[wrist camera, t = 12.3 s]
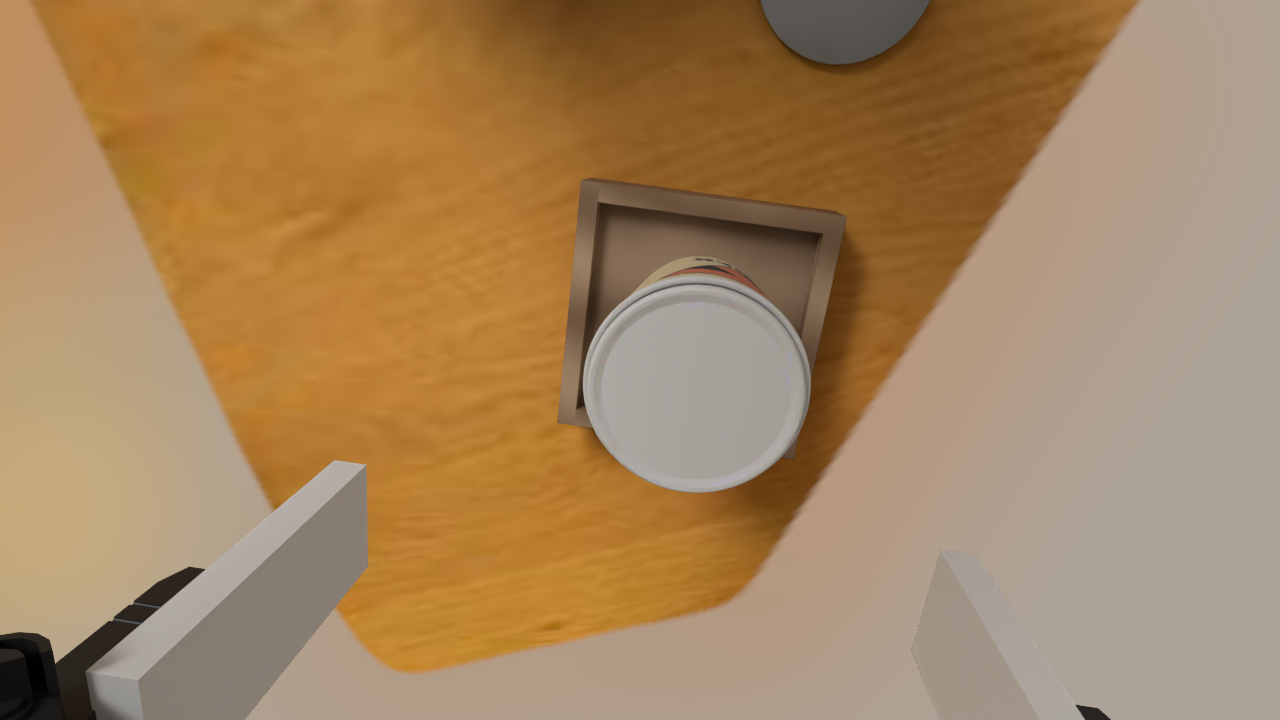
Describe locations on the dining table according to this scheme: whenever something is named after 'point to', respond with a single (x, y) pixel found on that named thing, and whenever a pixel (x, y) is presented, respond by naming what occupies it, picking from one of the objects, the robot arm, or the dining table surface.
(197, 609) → the robot arm
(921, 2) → the slate coaster
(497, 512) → the dining table surface
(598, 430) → the coffee cup
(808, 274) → the square wooden tray
